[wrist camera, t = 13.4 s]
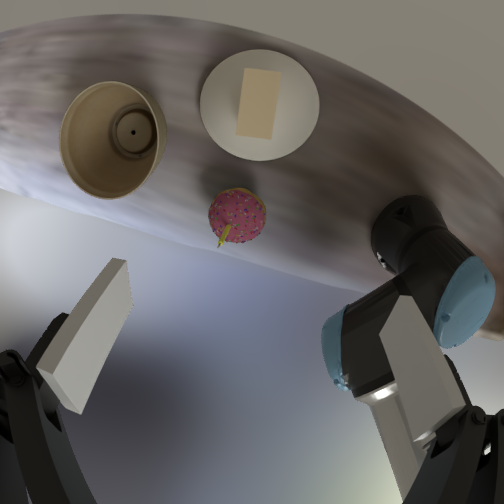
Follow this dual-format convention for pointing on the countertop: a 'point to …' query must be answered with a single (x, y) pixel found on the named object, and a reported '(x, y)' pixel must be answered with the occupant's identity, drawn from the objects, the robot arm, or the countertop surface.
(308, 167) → the countertop surface
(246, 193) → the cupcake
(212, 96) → the lid
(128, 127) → the planter bowl
